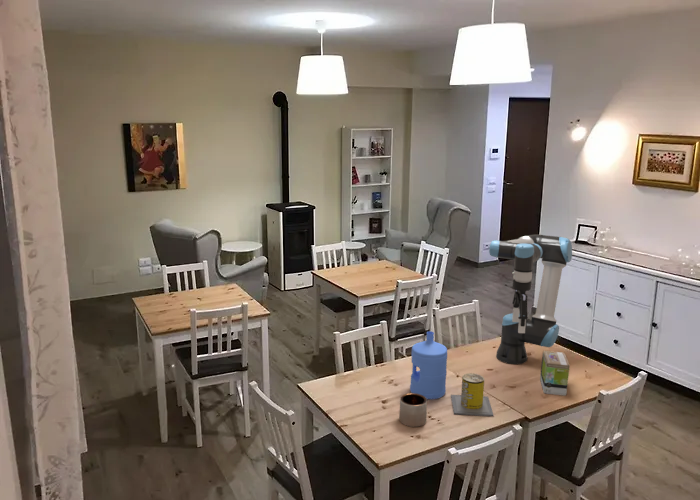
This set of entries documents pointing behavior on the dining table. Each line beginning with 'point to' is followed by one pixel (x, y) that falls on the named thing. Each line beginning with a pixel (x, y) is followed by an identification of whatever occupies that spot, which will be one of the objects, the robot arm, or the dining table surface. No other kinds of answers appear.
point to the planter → (413, 410)
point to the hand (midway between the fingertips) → (518, 327)
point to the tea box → (554, 373)
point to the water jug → (429, 368)
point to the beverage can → (472, 391)
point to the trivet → (461, 410)
